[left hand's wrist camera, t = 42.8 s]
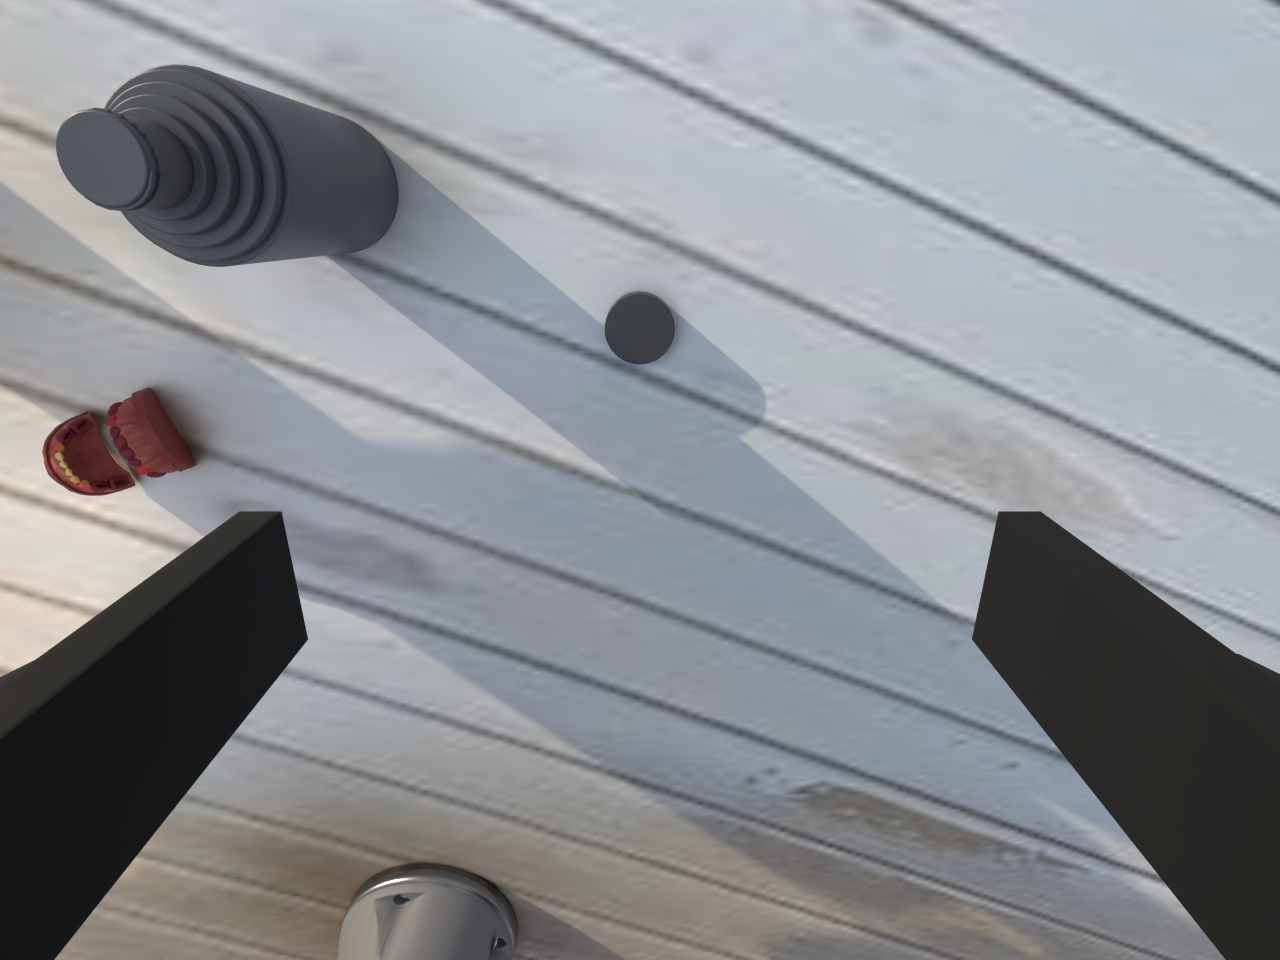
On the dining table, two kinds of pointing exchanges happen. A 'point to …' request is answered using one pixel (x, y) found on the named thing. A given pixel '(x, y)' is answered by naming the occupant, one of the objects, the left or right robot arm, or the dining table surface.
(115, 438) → the dental model
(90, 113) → the bottle
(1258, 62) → the dining table surface
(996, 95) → the dining table surface
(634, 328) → the cap
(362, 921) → the left robot arm
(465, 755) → the dining table surface
